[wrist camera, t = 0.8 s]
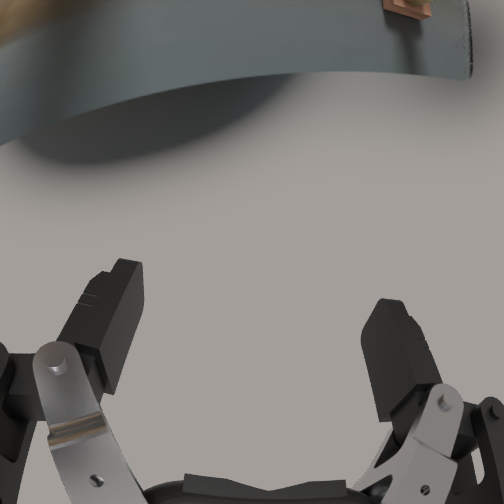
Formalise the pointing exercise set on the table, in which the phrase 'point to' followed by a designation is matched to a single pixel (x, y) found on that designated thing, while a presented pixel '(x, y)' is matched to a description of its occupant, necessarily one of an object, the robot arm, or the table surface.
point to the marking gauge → (409, 7)
